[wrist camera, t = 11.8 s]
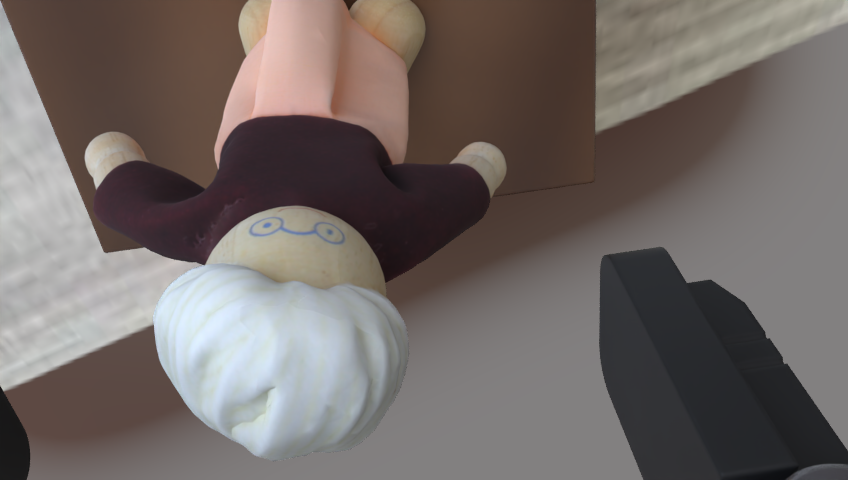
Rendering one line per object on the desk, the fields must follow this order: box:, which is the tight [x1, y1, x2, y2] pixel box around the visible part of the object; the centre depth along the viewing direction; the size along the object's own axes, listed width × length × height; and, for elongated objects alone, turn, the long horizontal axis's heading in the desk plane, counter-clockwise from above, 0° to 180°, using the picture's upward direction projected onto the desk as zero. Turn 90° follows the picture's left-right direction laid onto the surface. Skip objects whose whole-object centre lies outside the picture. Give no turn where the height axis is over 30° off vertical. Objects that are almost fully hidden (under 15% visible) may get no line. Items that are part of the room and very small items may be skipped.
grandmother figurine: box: [85, 0, 507, 461], centre depth 14 cm, size 8×4×13 cm, turn 96°
